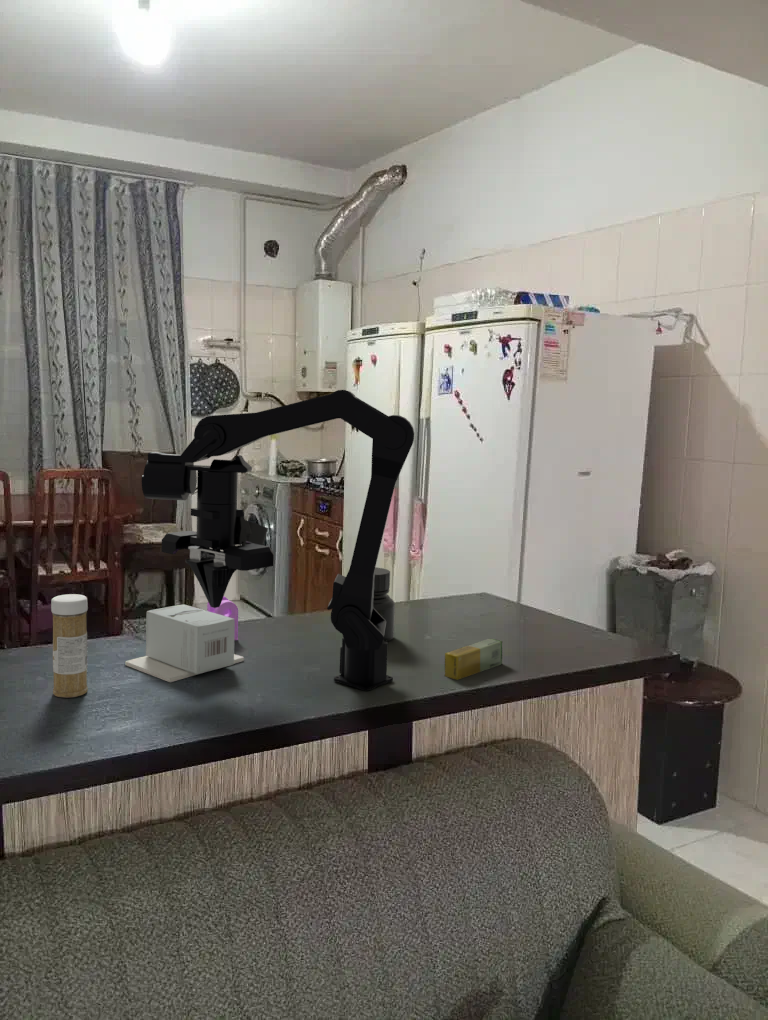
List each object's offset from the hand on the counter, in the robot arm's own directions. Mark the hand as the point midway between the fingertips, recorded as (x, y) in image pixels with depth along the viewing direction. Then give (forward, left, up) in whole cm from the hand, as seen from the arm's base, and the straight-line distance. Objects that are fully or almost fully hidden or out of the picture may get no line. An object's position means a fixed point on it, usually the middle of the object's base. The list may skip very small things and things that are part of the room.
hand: (215, 607), depth 120 cm
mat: (+7, 0, -10) cm, 12 cm away
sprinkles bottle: (+7, +19, -10) cm, 23 cm away
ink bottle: (-4, -31, -10) cm, 33 cm away
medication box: (-27, -30, -11) cm, 41 cm away
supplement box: (-1, 0, -6) cm, 6 cm away
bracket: (+16, -9, -11) cm, 21 cm away
